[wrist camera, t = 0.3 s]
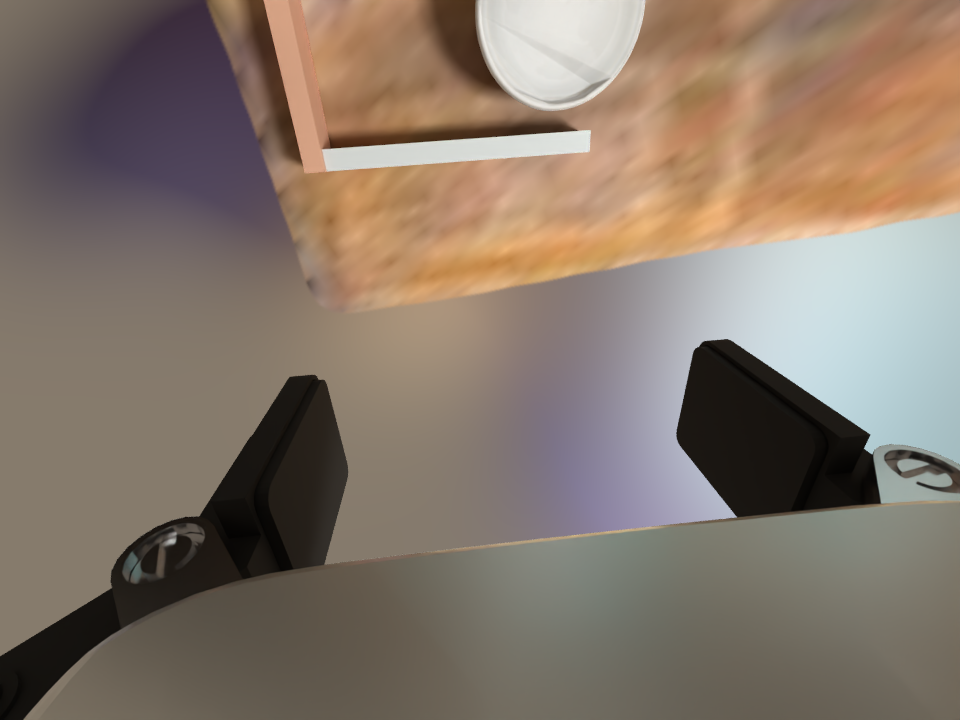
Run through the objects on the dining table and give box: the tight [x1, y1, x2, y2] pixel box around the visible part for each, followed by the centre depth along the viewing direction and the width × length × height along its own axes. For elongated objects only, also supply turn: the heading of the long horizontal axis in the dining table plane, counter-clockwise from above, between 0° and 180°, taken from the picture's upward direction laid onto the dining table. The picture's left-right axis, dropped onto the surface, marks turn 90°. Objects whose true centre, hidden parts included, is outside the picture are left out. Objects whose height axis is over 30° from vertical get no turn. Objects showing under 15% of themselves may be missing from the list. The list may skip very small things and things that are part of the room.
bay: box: [264, 0, 591, 173], centre depth 29 cm, size 17×22×4 cm
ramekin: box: [475, 0, 645, 111], centre depth 29 cm, size 11×11×5 cm
